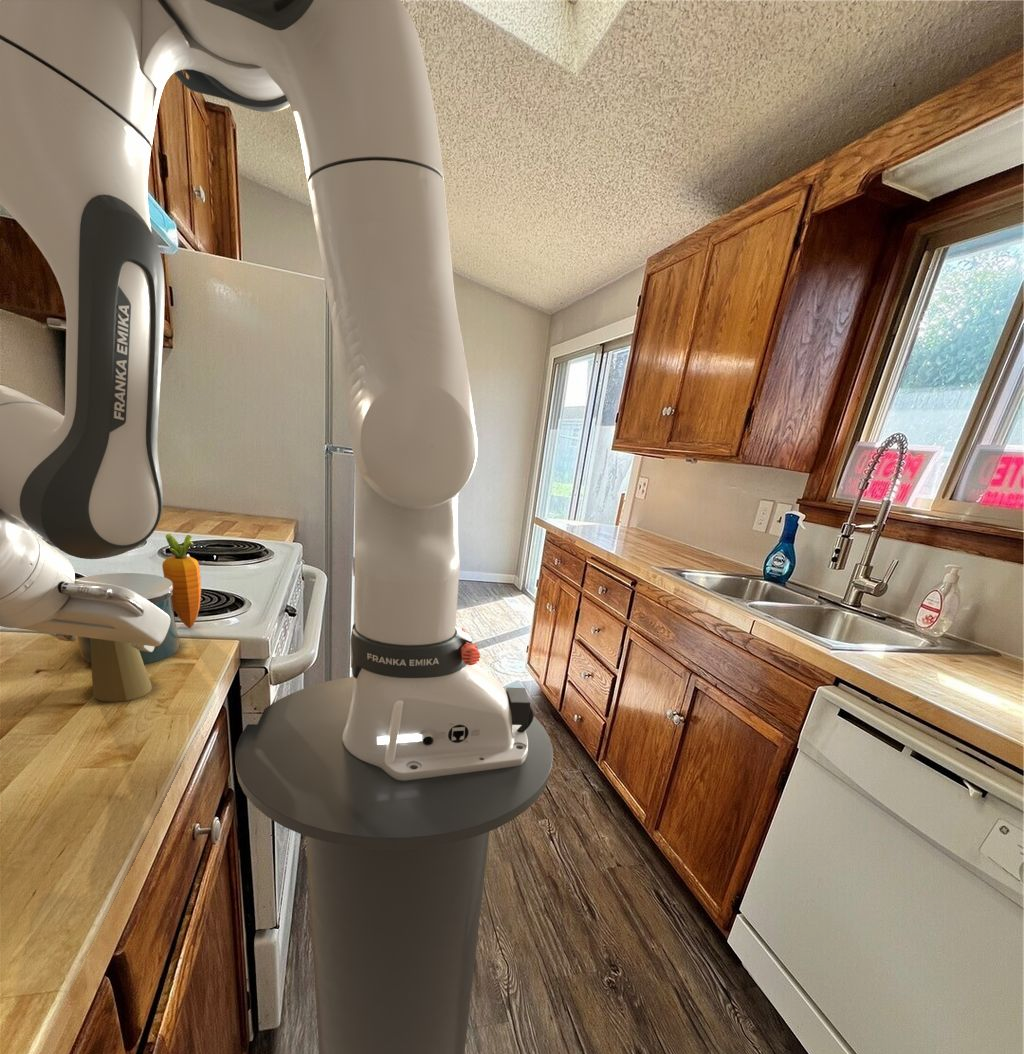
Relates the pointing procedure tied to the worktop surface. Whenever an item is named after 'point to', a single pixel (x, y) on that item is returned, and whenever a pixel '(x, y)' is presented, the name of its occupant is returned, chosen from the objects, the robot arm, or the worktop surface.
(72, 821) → the worktop surface
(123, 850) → the worktop surface
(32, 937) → the worktop surface
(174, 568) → the carrot
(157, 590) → the pot
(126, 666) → the tan pepper shaker
